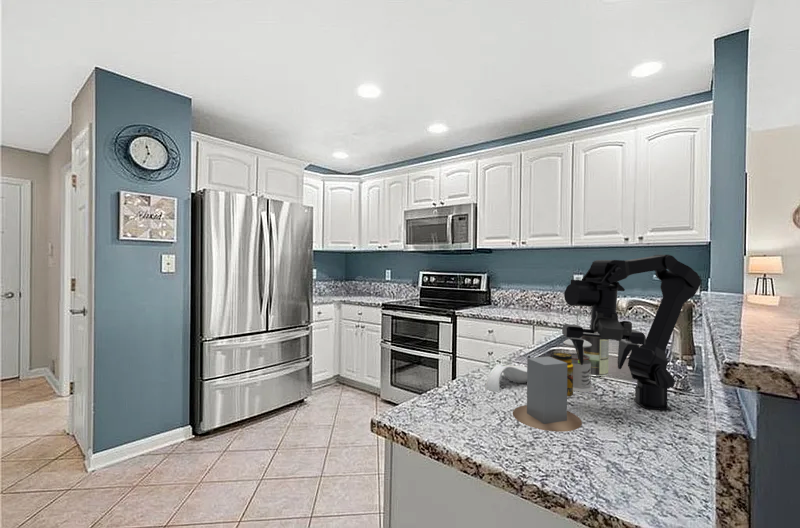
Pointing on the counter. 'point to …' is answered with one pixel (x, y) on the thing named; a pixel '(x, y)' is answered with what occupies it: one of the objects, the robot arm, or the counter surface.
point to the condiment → (568, 360)
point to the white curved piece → (509, 371)
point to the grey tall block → (547, 389)
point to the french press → (580, 367)
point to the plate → (569, 425)
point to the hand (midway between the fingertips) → (600, 366)
